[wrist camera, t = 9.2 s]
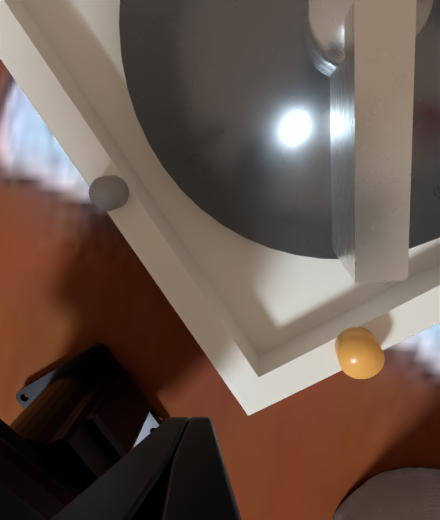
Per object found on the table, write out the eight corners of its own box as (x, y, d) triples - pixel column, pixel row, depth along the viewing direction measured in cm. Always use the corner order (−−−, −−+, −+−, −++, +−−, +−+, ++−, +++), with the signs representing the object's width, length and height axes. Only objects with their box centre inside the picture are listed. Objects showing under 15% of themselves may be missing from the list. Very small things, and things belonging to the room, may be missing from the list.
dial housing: (252, 383, 22) (248, 435, 18) (-30, -31, 18) (-114, -83, 14) (751, 130, 17) (906, 123, 13) (494, -540, 13) (598, -859, 9)
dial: (95, -200, 15) (-3, -400, 10) (636, -315, 13) (912, -664, 7) (155, 263, 20) (112, 307, 14) (564, 241, 17) (702, 283, 12)
